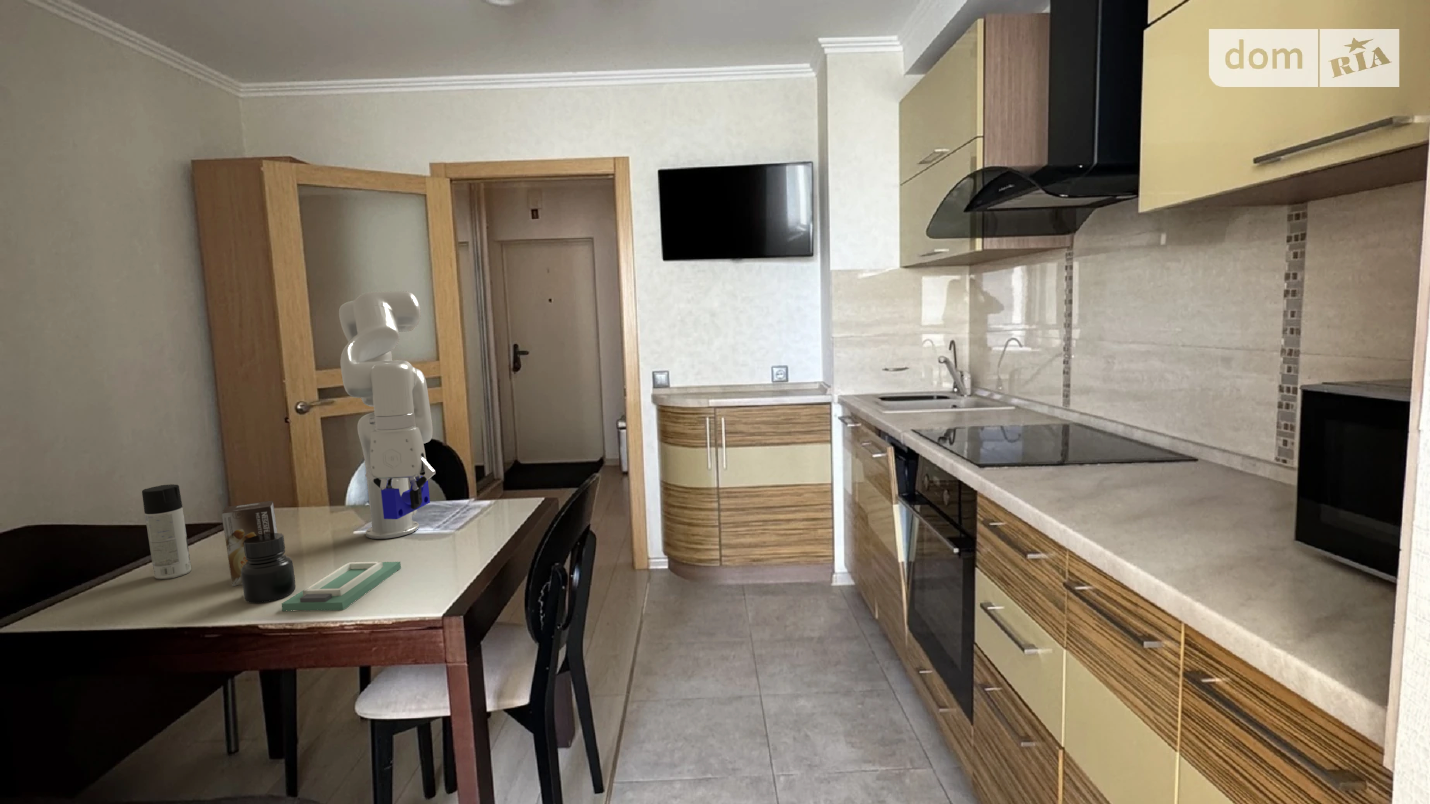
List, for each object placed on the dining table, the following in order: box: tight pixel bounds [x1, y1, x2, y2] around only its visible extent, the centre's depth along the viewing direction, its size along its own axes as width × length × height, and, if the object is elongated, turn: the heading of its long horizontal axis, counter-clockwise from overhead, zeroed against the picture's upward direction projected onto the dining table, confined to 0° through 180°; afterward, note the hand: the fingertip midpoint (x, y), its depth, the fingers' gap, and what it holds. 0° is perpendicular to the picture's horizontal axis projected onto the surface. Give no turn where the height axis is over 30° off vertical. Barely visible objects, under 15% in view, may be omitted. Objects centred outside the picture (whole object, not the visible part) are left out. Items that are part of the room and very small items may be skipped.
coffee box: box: [221, 500, 278, 587], centre depth 151 cm, size 9×6×16 cm
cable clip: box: [381, 475, 431, 519], centre depth 148 cm, size 12×4×6 cm, turn 171°
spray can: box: [141, 483, 192, 580], centre depth 155 cm, size 7×7×20 cm
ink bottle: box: [241, 532, 296, 604], centre depth 141 cm, size 10×9×12 cm
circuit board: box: [281, 561, 402, 612], centre depth 144 cm, size 22×12×3 cm, turn 177°
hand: (403, 506), depth 148 cm, fingers closed on cable clip, 4 cm apart
